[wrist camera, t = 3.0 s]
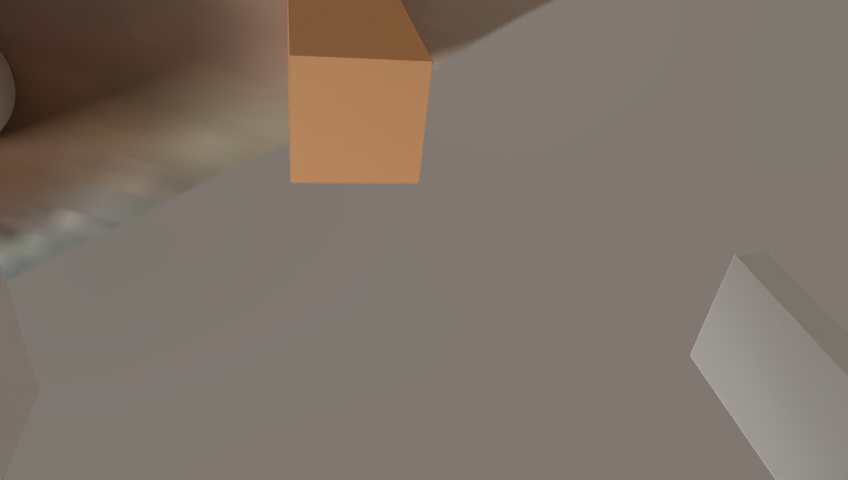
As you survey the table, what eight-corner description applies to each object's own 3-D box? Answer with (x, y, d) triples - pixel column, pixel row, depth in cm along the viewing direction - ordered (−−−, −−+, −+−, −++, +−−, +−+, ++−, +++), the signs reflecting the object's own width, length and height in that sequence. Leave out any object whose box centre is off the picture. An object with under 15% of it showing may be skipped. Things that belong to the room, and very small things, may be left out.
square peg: (287, 65, 29) (290, 182, 21) (286, -33, 26) (289, 55, 18) (380, 69, 29) (418, 183, 21) (387, -26, 27) (432, 61, 19)
